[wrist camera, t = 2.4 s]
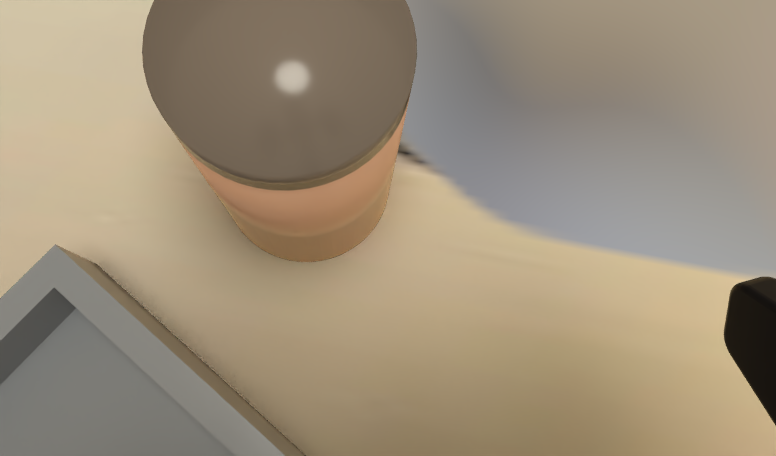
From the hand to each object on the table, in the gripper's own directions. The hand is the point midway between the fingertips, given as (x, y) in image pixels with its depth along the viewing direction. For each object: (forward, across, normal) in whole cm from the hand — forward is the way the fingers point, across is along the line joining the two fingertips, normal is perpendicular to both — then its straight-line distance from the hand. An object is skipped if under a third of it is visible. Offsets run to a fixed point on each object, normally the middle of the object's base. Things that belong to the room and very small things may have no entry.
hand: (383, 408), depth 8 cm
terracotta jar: (+14, 0, +4) cm, 15 cm away
